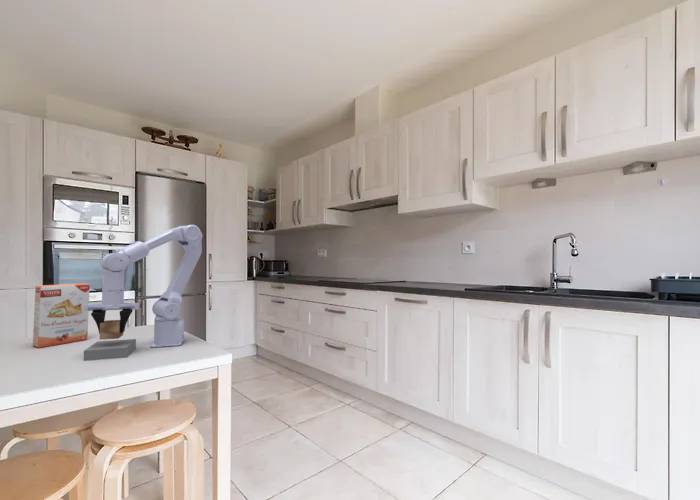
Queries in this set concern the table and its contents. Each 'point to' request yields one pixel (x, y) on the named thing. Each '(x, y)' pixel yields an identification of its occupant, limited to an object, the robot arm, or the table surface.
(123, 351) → the gray block
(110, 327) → the walnut cube
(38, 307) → the cracker box
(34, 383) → the table surface
